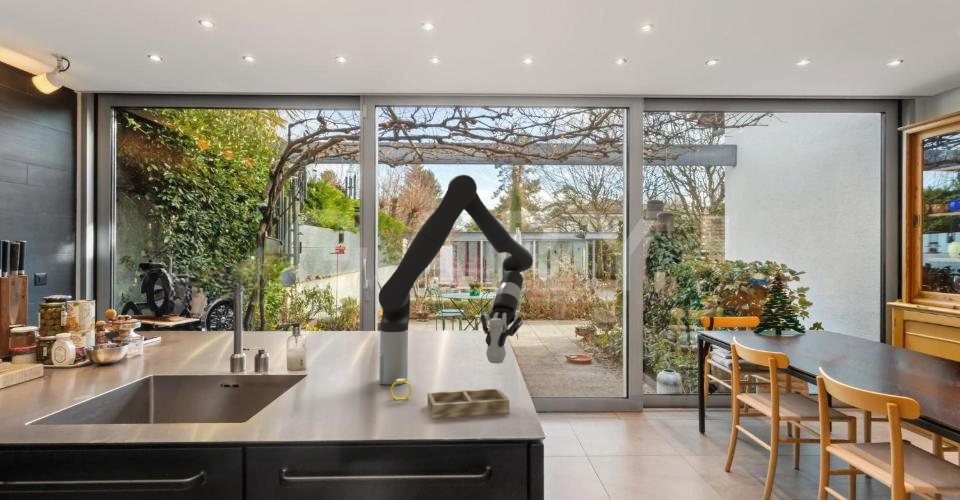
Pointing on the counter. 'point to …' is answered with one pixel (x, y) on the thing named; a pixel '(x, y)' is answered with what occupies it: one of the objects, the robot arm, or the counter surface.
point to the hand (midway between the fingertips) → (494, 344)
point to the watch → (400, 382)
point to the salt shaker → (495, 342)
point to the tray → (467, 403)
